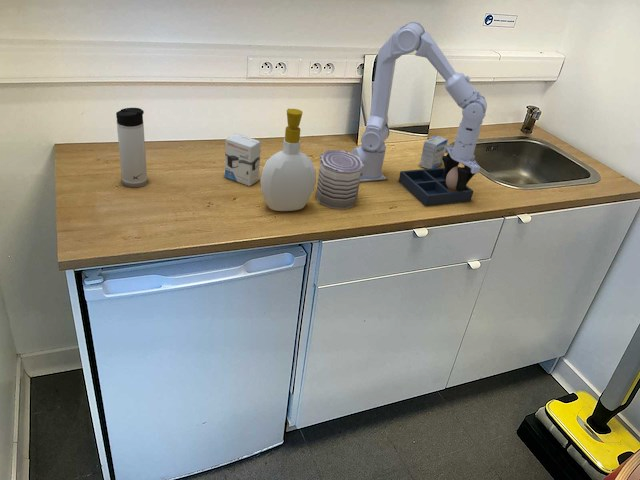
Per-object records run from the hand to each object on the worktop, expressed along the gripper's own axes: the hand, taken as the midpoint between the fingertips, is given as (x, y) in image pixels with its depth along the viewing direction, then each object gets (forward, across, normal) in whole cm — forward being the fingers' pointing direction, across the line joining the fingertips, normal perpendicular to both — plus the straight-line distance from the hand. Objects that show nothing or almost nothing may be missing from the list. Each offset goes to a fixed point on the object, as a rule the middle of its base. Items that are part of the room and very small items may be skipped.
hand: (453, 185), depth 156 cm
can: (+4, +5, +35) cm, 35 cm away
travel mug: (+4, +24, +85) cm, 88 cm away
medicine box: (+4, +20, -5) cm, 21 cm away
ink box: (+4, +21, +57) cm, 60 cm away
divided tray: (+3, +4, +4) cm, 6 cm away
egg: (+2, 0, 0) cm, 2 cm away
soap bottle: (+4, +4, +50) cm, 50 cm away
